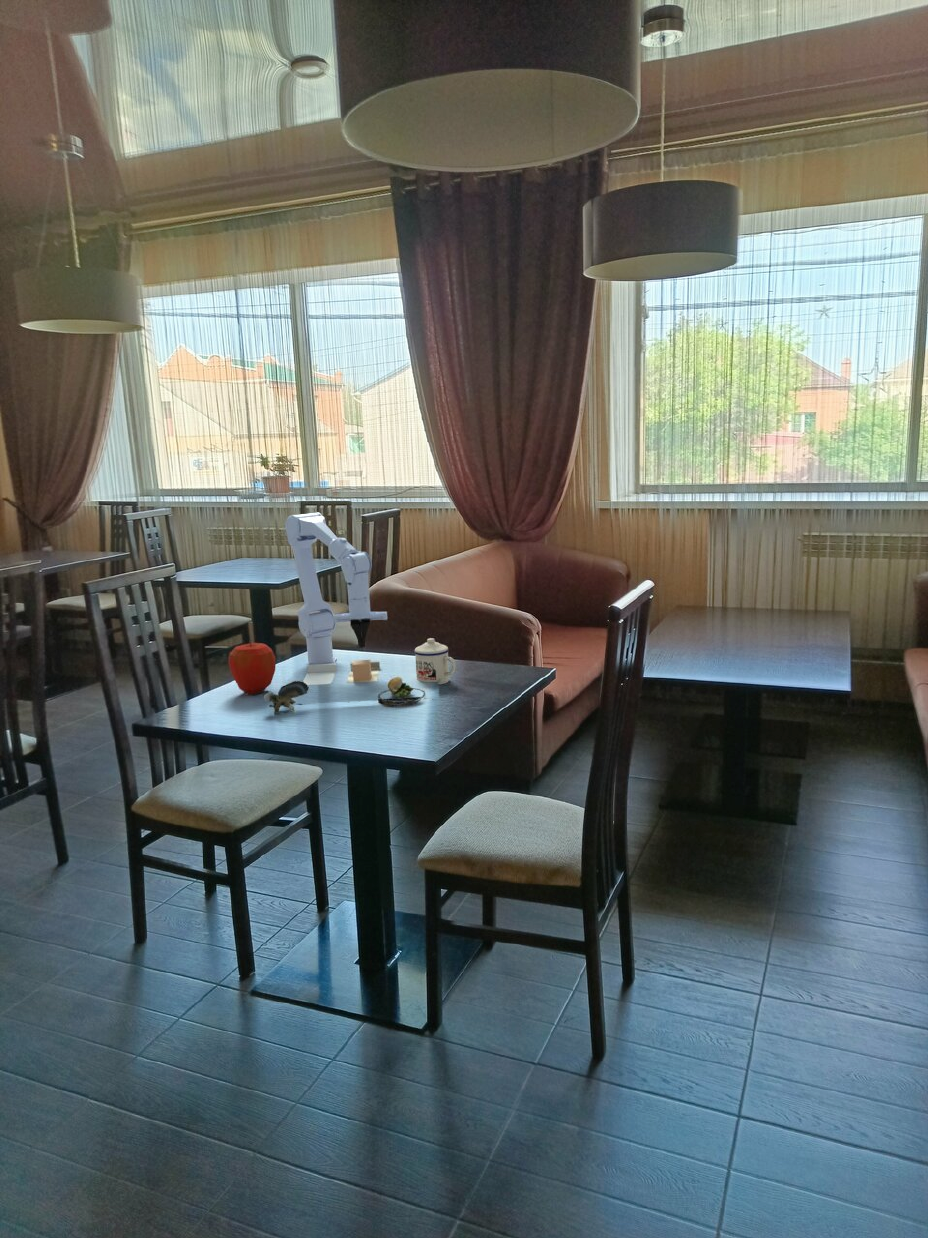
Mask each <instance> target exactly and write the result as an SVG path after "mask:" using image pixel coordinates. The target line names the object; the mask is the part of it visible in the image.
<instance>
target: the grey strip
mask: <svg viewBox="0 0 928 1238" xmlns="http://www.w3.org/2000/svg"><path fill="white" fill-rule="evenodd" d="M337 668H338V667H337V663H336V662H329V663H323V664H307V665H306V671H307V673H306V675H305V677H304V678H303V681H302V682H304V683H306V684H307V686H317V685H331V684H332V683H333V681H334V679H335V676H336V674H337V671H338V669H337Z"/></svg>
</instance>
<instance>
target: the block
mask: <svg viewBox="0 0 928 1238" xmlns="http://www.w3.org/2000/svg"><path fill="white" fill-rule="evenodd" d="M371 661H372V660H371V659H361V660H360V659H359V660H357V659H356V660H353V661H352V662H353V664H352V668H353V681H367V680H371V676H372V674H371Z"/></svg>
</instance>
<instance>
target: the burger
mask: <svg viewBox="0 0 928 1238" xmlns="http://www.w3.org/2000/svg"><path fill="white" fill-rule="evenodd" d="M387 688H388V689H386V690H384V691H381V692H380V693H378V694H377V698H378V699H377V702H378V704H379V705H382V706H385V707H395V708H397V707H410V706H411V707H412V706H413V704H414V702H415V701H418V700H421V699H422V697H424V696H425V695H426V692H425V690H423V689H420V688H416V687H415V688H414V687H411V686H410V685H409V684H407V683H406V682H403V678H402V677H401V676H397V677H393V678H391V679H390V680H389V681H388V683H387ZM413 690H414V691H415V690H417V691H420V692H422V693H423V694H422V696H414V697H413V696H411V695H412V691H413ZM387 692H390V693H391V695H392V697H393V698H381V696H382V695H383V694H384V693H387ZM410 696H411V697H410Z"/></svg>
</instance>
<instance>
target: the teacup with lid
mask: <svg viewBox="0 0 928 1238" xmlns="http://www.w3.org/2000/svg"><path fill="white" fill-rule="evenodd" d="M449 651H450V650H449V647H448V645H445V644H442V643H439V642H438V641H437V642H436V640H435V638H431V637H430V638H427V640H426V642H424V643H422V644H421V645H419V646H417V647H415V649H414V651H413V653H414V656H415V671H416V672H415V673H416V680H418V681H419V682H423V683H433V682H434V683H435V682H436V683H437V686H441V685H445V684H446V683H449V681H450V676H452V675H453V673H455V671H456V667H457V664H456V660H455V659H454V658H453V657H451V656H449ZM449 662H450V664H451V670H450V669H449V668H450V667H449V666H450V665H449Z"/></svg>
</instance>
